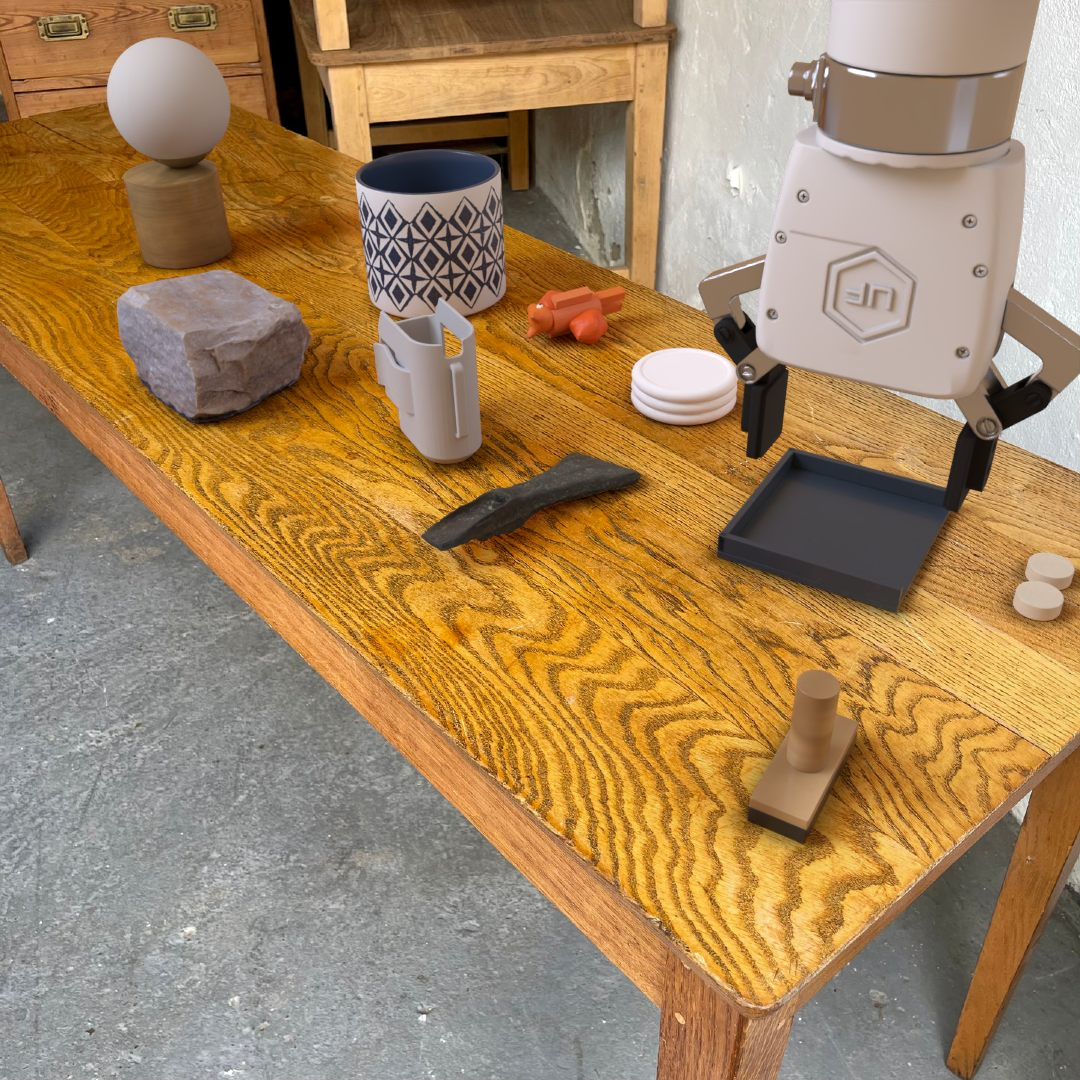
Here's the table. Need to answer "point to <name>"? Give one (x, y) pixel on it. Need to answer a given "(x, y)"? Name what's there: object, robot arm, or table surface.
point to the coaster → (684, 386)
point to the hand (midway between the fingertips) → (857, 470)
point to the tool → (527, 500)
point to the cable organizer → (432, 382)
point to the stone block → (211, 342)
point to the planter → (432, 231)
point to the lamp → (173, 150)
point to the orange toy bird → (574, 313)
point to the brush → (805, 760)
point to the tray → (837, 528)
